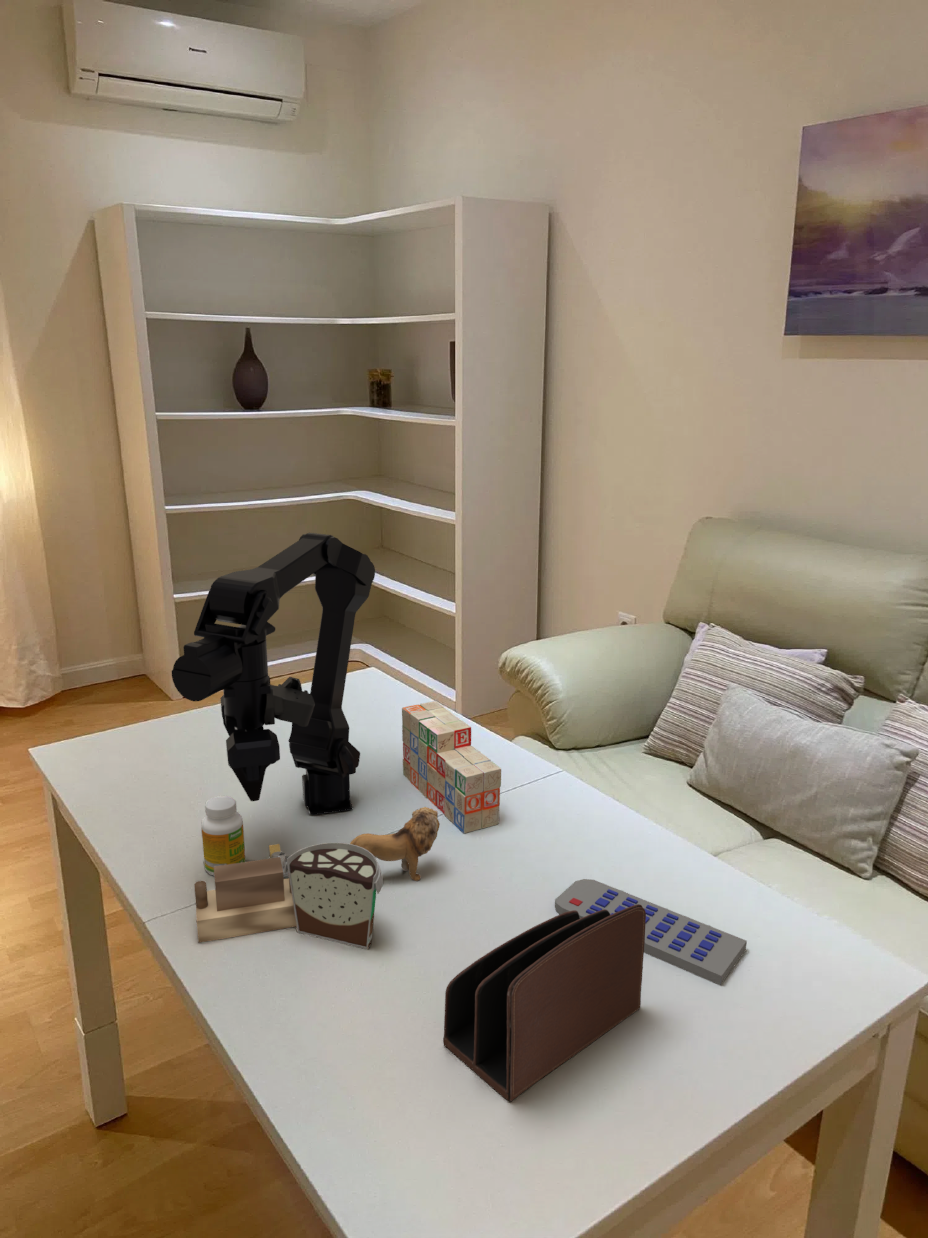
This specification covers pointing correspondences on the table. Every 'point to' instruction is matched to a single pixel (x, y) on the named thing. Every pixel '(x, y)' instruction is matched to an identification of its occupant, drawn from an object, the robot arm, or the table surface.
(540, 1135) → the table surface
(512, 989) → the letter holder
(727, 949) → the remote control
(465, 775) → the stack of blocks
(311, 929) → the food container
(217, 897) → the tall brown cuboid
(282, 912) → the peg stand
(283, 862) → the door lever handle
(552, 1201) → the table surface
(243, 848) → the supplement bottle
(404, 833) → the lion figurine
